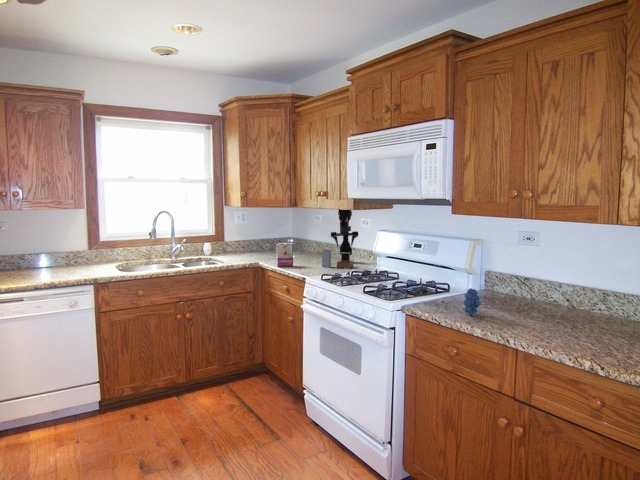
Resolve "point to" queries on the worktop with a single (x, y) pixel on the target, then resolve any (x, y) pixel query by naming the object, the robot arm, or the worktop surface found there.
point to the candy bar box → (285, 255)
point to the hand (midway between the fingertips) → (344, 246)
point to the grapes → (471, 301)
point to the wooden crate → (345, 264)
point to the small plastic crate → (326, 258)
